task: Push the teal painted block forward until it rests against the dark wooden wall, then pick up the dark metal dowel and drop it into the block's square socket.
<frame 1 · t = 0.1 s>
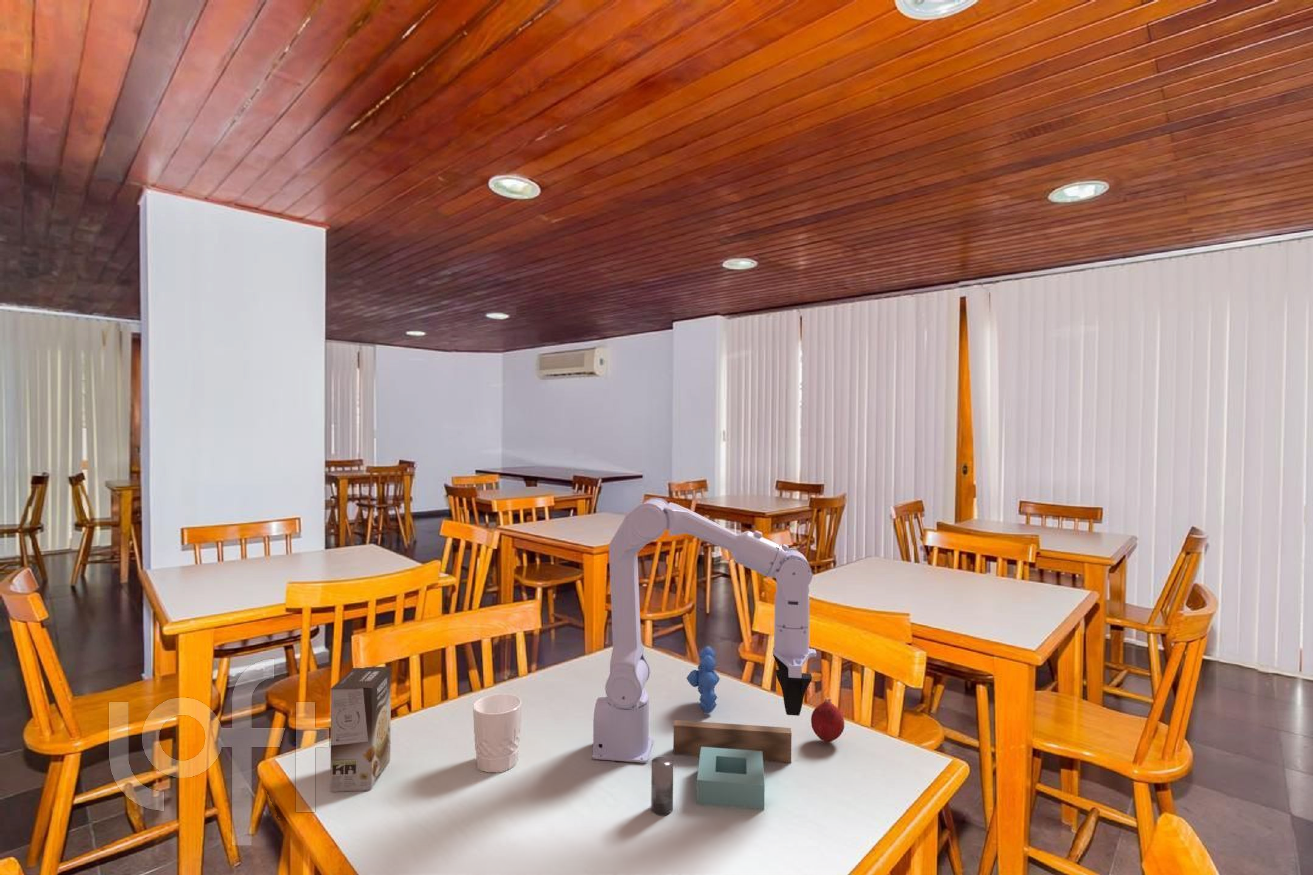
hand: (790, 704, 107), 10 cm above the table, tool pointing down, fingers open, 7 cm apart
white cup: (497, 763, 107), on the table
block: (730, 790, 100), on the table
coffee box: (361, 776, 102), on the table
grapes: (702, 708, 128), on the table
onion: (827, 743, 114), on the table
wall: (731, 755, 110), on the table
dowel: (662, 808, 94), on the table
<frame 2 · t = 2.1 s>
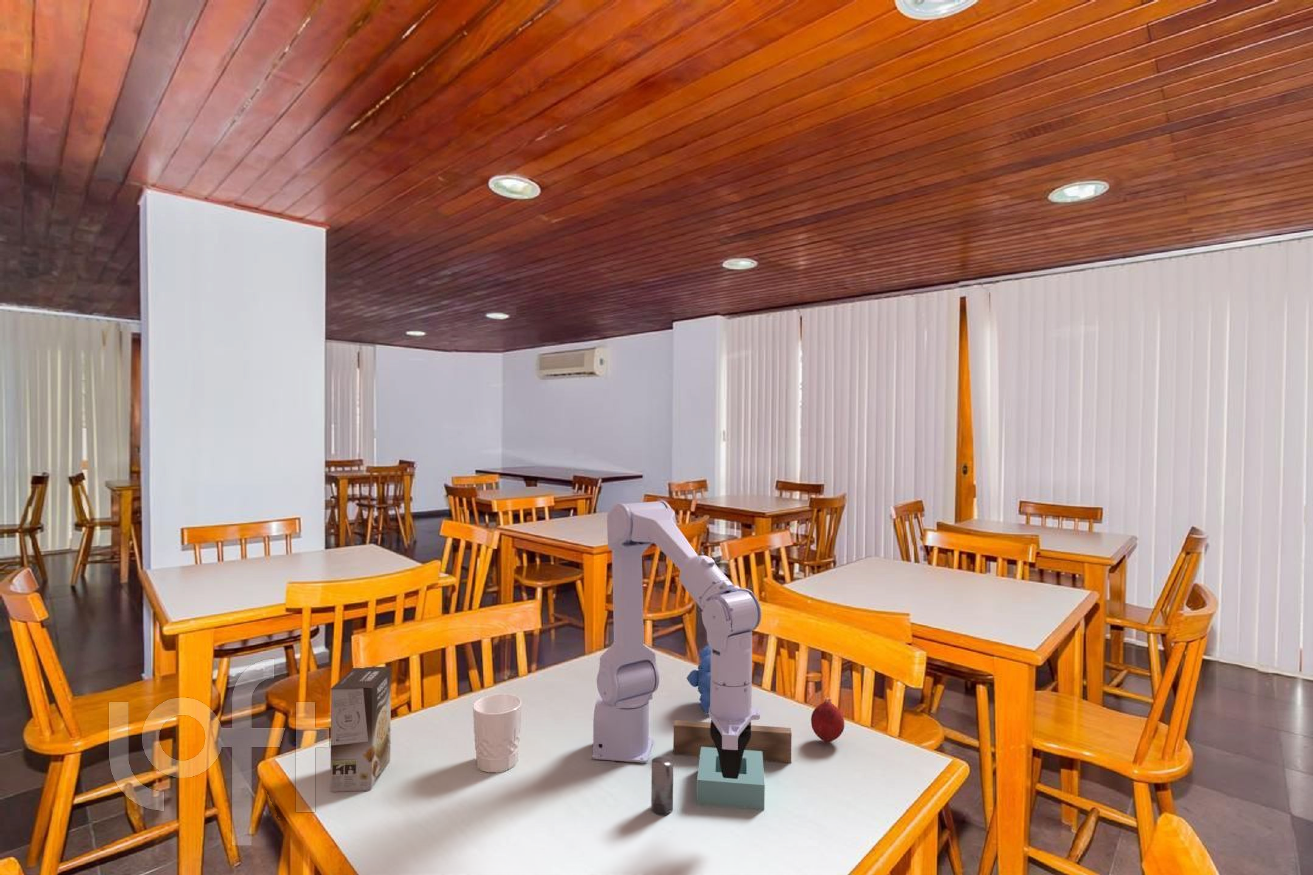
hand: (730, 775, 89), 8 cm above the table, tool pointing down, fingers closed
nothing on the table moved.
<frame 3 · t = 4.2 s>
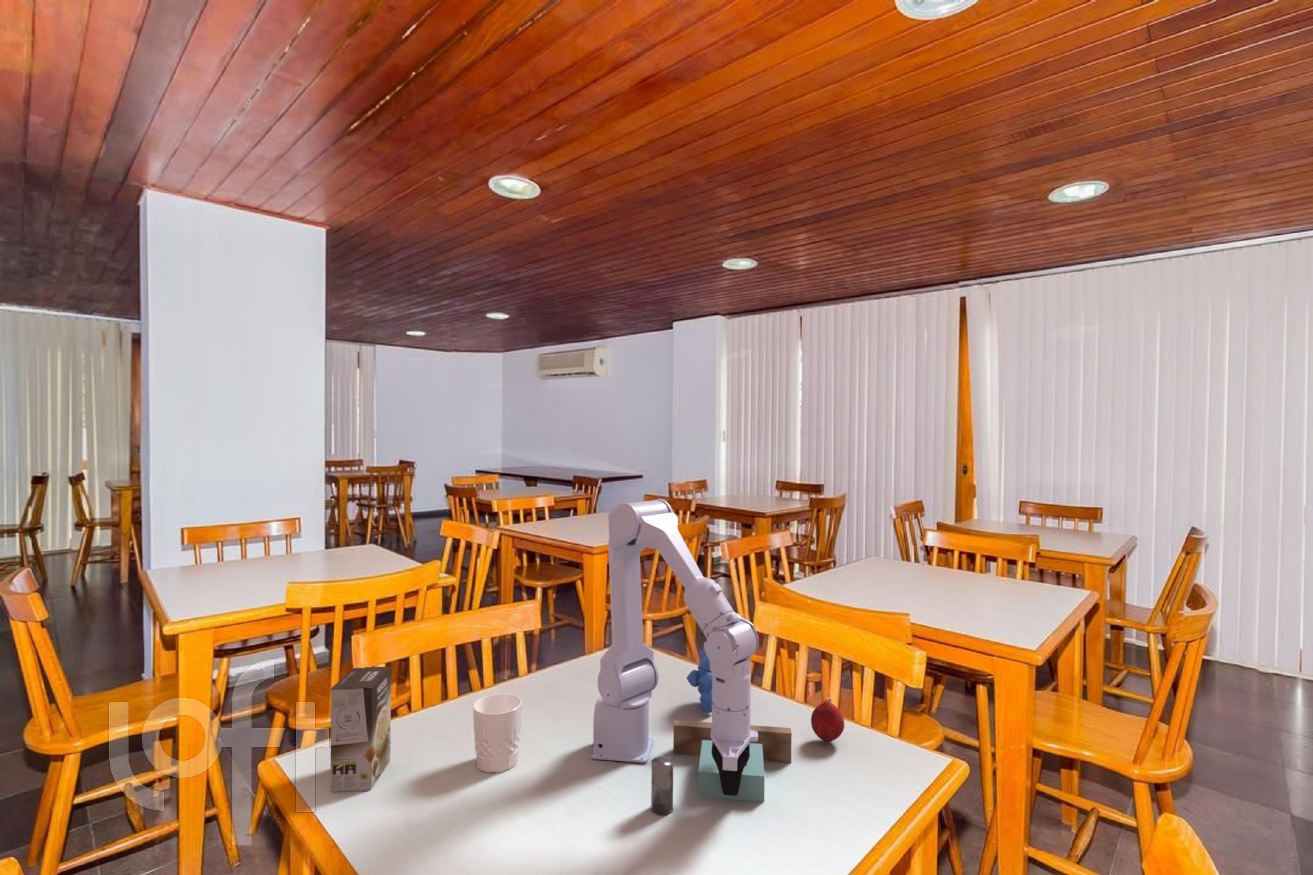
hand: (730, 792, 95), 2 cm above the table, tool pointing down, fingers closed
block: (731, 781, 102), on the table, touching gripper
everything else where it was.
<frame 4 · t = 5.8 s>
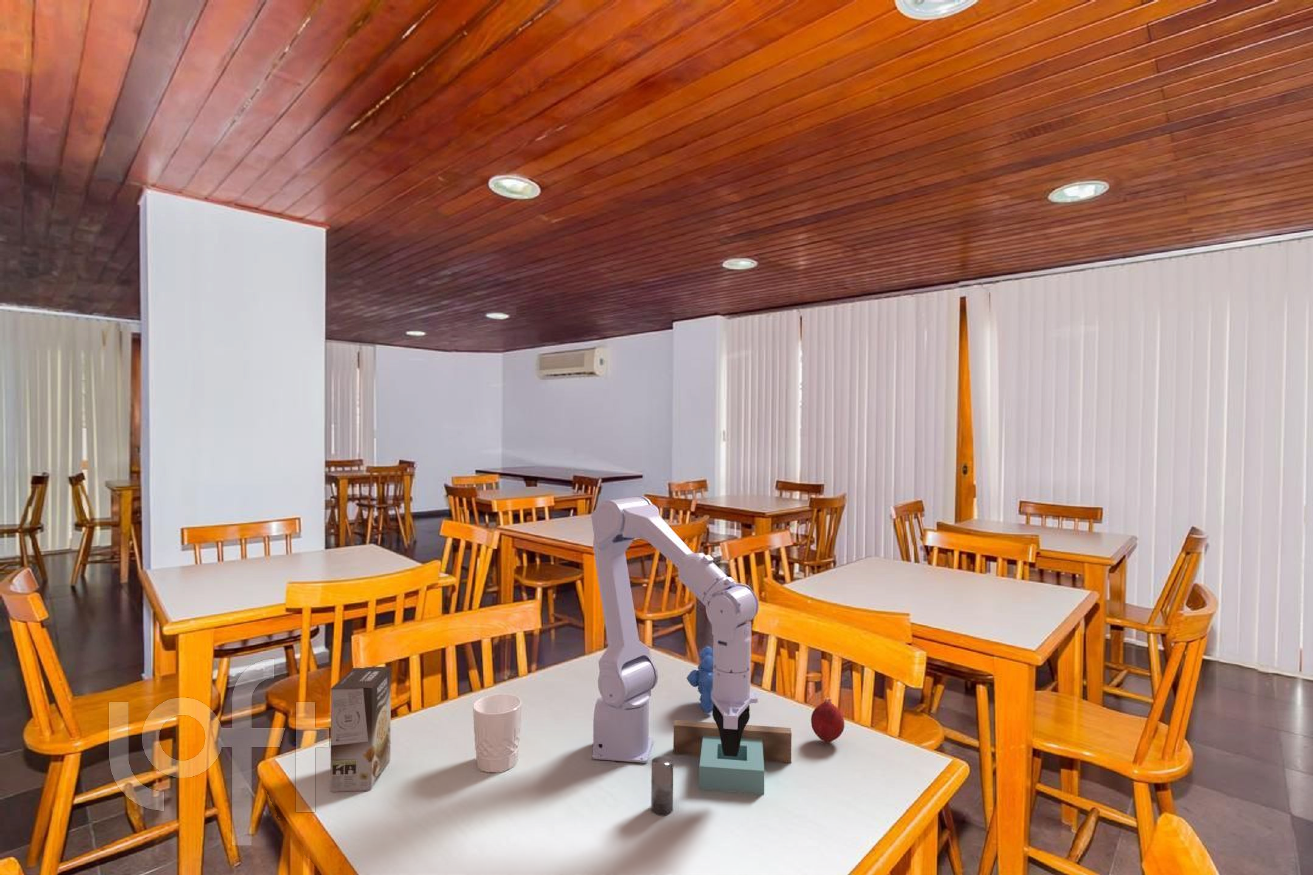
hand: (730, 753, 98), 6 cm above the table, tool pointing down, fingers closed
block: (731, 776, 104), on the table
everything else where it was.
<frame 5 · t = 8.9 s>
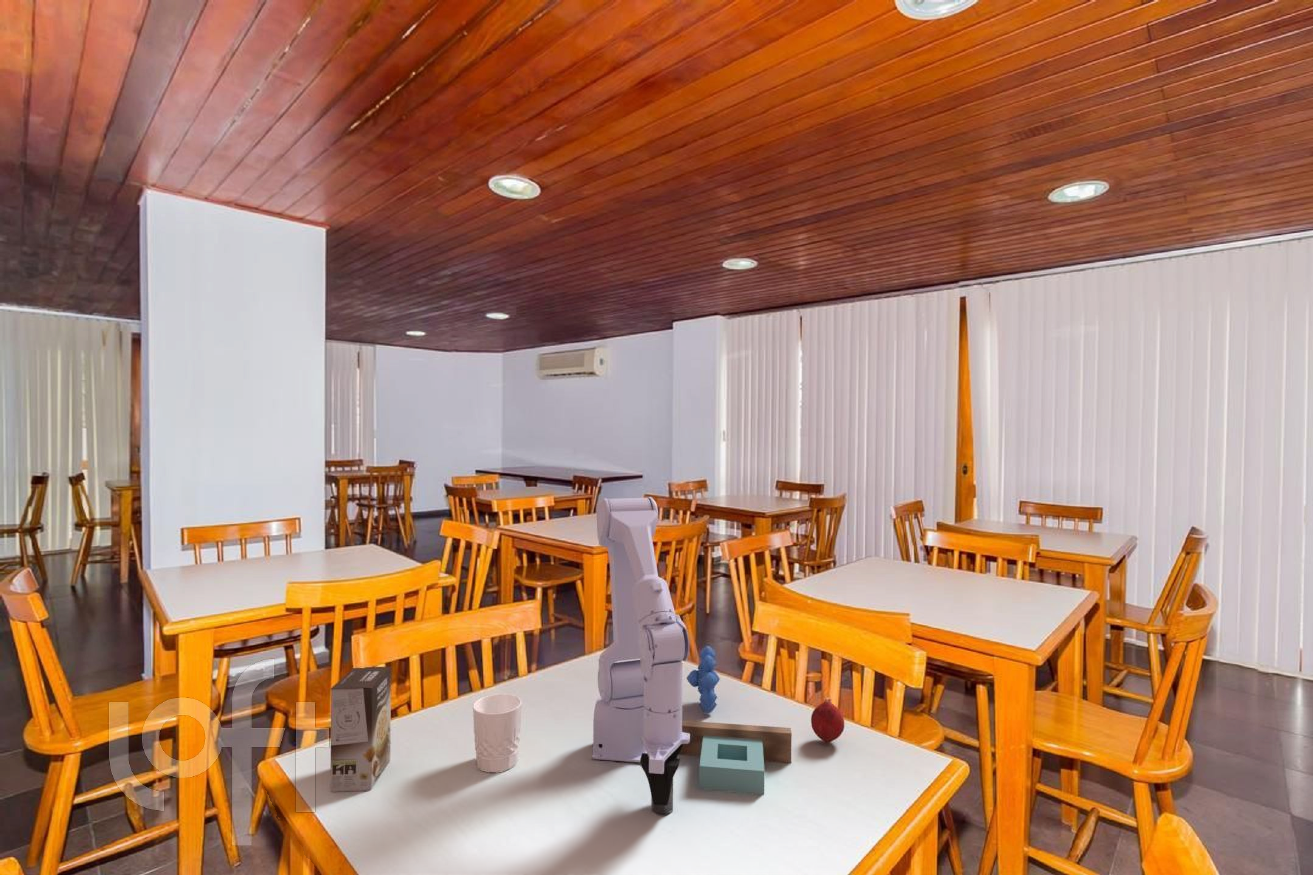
hand: (662, 795, 94), 2 cm above the table, tool pointing down, fingers closed on dowel, 3 cm apart
dowel: (662, 808, 94), on the table, touching gripper
everything else where it was.
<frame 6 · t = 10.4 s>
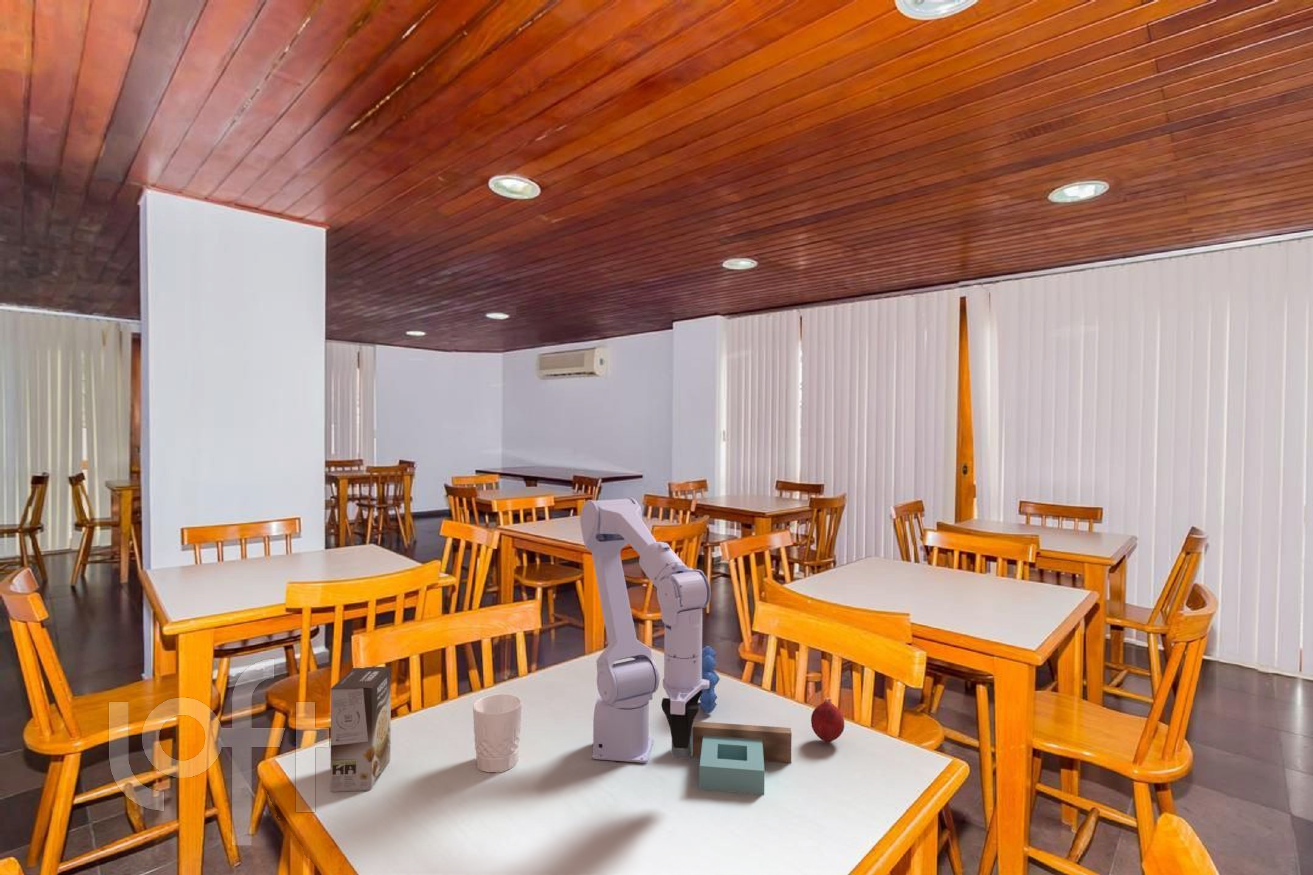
hand: (682, 740, 97), 9 cm above the table, tool pointing down, fingers closed on dowel, 3 cm apart
dowel: (682, 753, 97), point 7 cm above the table, touching gripper
everything else where it was.
when the fingers open (5 cm above the table, at t = 12.2 s): dowel drops 3 cm, resting on block.
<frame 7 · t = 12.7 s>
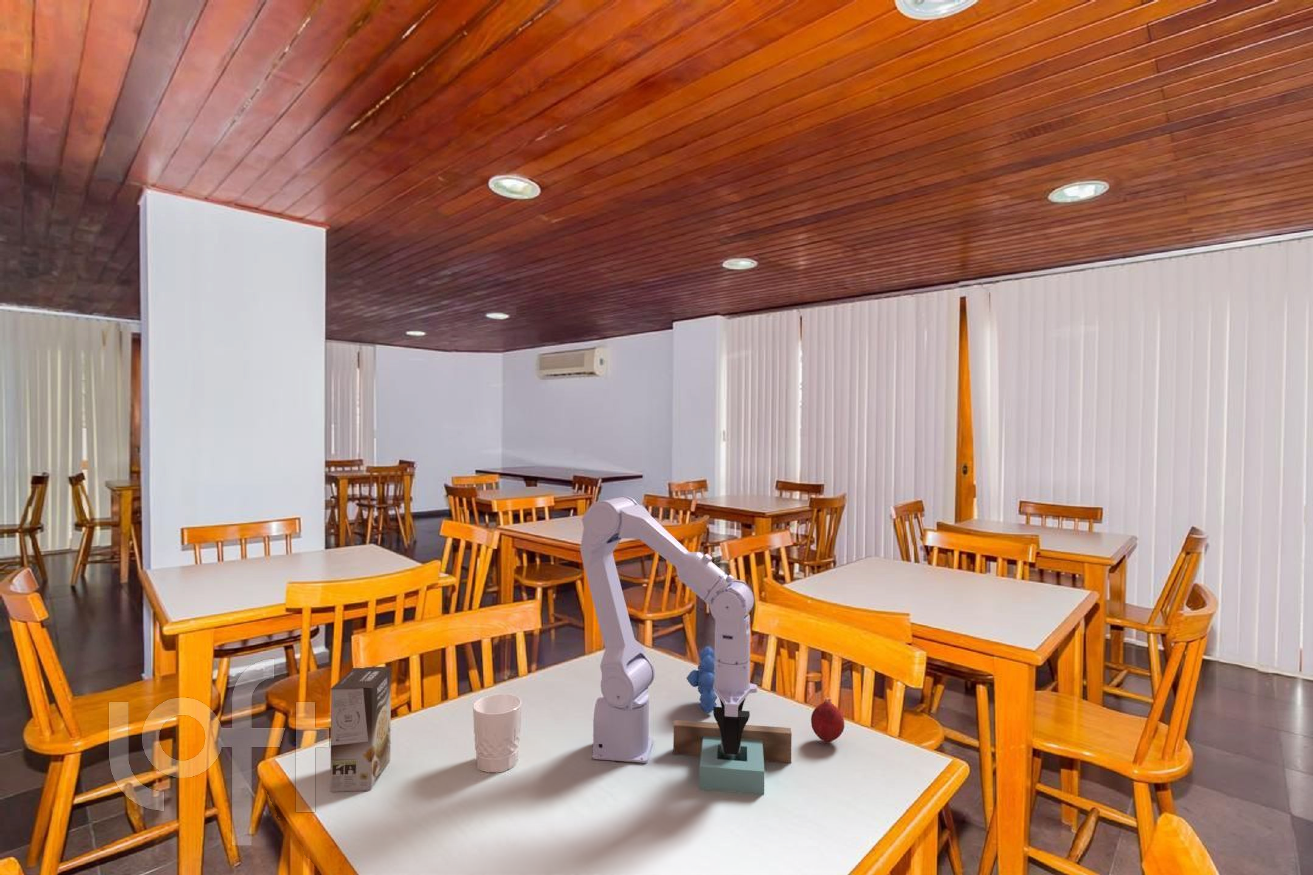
hand: (731, 741, 104), 5 cm above the table, tool pointing down, fingers open, 7 cm apart
block: (731, 776, 104), on the table, touching dowel
dowel: (730, 770, 104), point 1 cm above the table, touching block
everything else where it was.
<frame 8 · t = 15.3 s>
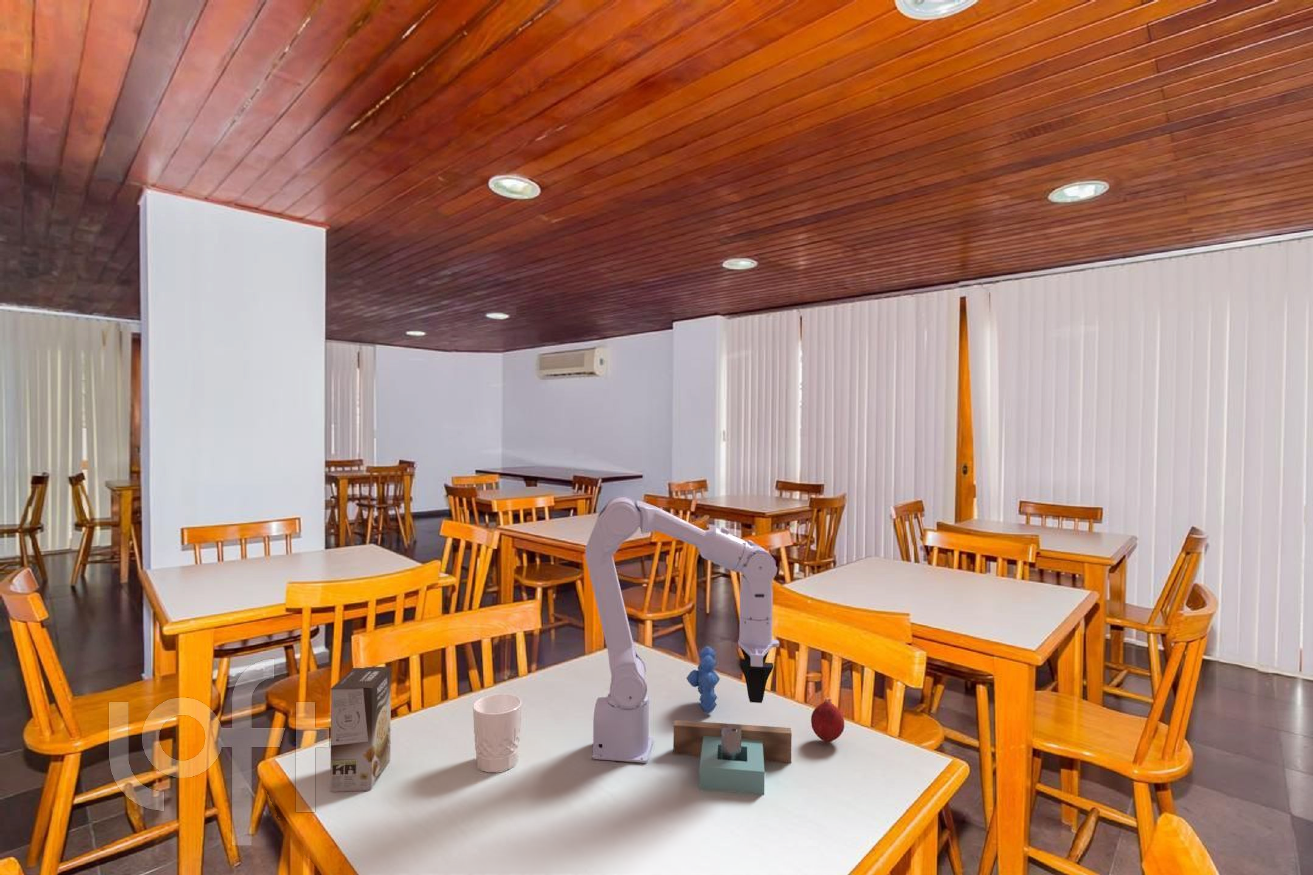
hand: (755, 692, 112), 10 cm above the table, tool pointing down, fingers open, 7 cm apart
nothing on the table moved.
at the end: dowel 0.2 cm off-centre on the block, point 1.0 cm above the block's base; dowel tilted 0°; block 0.5 cm from the target spot, on the table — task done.
